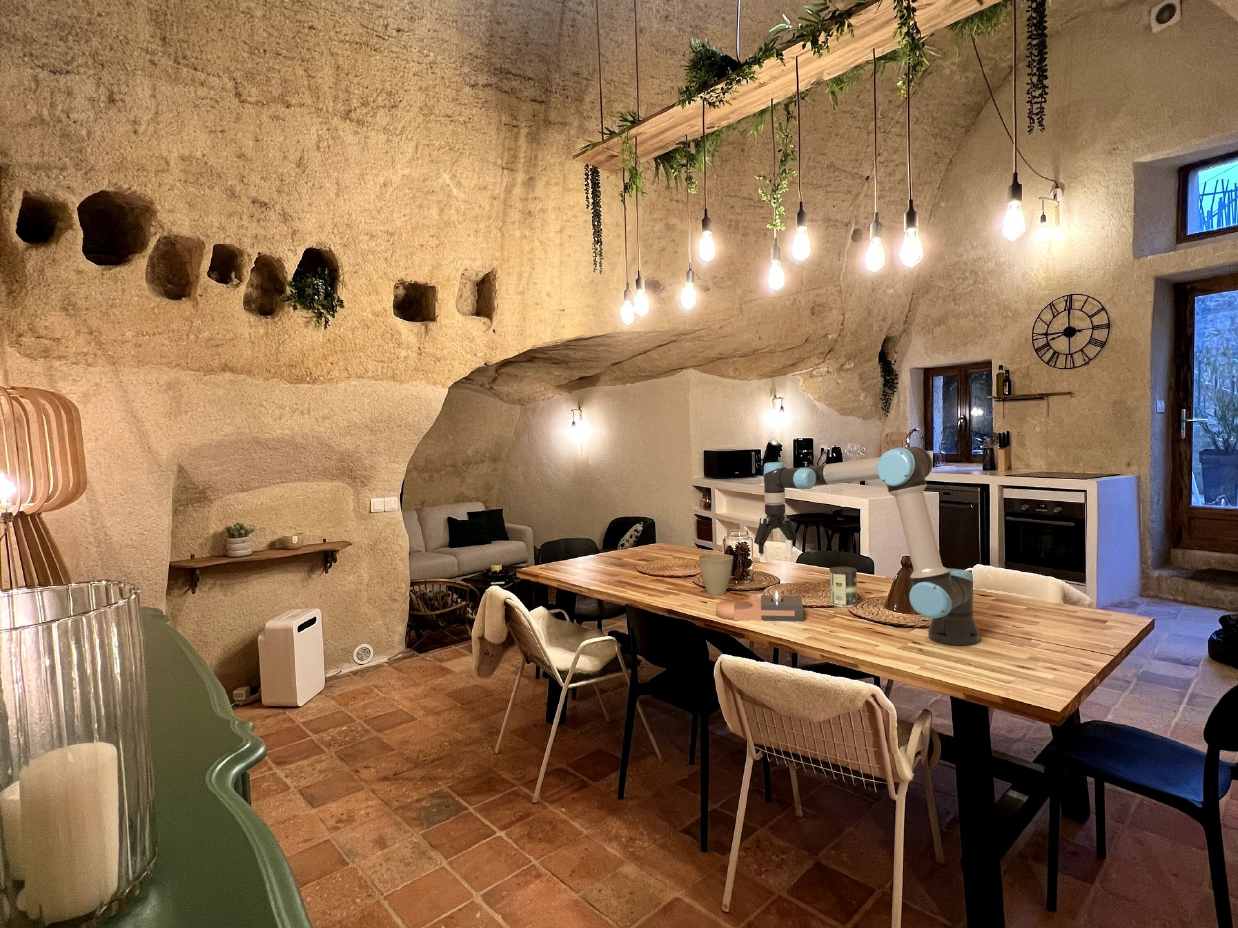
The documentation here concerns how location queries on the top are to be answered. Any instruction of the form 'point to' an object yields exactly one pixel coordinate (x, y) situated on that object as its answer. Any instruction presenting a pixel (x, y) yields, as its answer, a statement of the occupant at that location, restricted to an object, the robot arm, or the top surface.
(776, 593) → the steel pin
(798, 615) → the clevis fork
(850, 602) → the coffee can
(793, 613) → the knuckle link
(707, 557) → the plant pot
